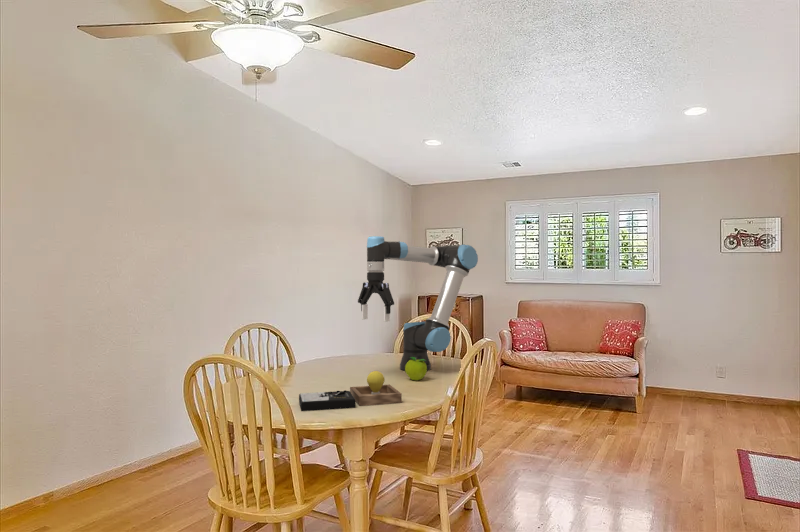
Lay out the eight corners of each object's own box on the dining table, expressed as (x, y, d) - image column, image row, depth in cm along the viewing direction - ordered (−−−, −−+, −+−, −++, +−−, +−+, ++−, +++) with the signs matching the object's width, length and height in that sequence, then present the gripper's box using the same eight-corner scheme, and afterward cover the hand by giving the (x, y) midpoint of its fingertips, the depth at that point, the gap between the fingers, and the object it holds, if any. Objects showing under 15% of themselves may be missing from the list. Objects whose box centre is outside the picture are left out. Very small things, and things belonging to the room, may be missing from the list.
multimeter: (355, 409, 192) (355, 395, 192) (300, 412, 188) (301, 398, 188) (350, 400, 205) (350, 386, 205) (298, 403, 200) (298, 389, 200)
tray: (389, 392, 215) (389, 384, 215) (401, 402, 199) (401, 393, 199) (350, 395, 210) (350, 387, 210) (359, 406, 195) (359, 396, 195)
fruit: (415, 376, 246) (415, 354, 246) (430, 380, 239) (430, 357, 239) (401, 379, 239) (401, 357, 239) (416, 383, 233) (416, 360, 233)
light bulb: (366, 395, 208) (366, 369, 208) (384, 395, 208) (384, 369, 208) (367, 399, 201) (367, 373, 201) (385, 399, 202) (384, 372, 202)
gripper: (350, 271, 241) (349, 318, 241) (390, 272, 224) (390, 323, 224) (362, 271, 247) (362, 317, 247) (402, 271, 230) (402, 321, 230)
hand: (375, 320), depth 236 cm, fingers open, 13 cm apart
